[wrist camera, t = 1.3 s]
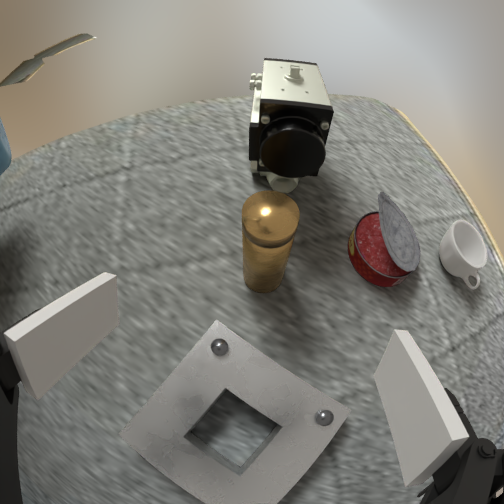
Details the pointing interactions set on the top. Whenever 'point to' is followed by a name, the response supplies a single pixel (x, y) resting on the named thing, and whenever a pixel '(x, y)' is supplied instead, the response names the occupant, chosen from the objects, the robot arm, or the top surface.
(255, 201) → the gold metal cylinder
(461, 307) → the top surface
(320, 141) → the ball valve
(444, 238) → the teacup
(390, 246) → the canned food
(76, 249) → the top surface
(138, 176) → the top surface
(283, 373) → the jig
